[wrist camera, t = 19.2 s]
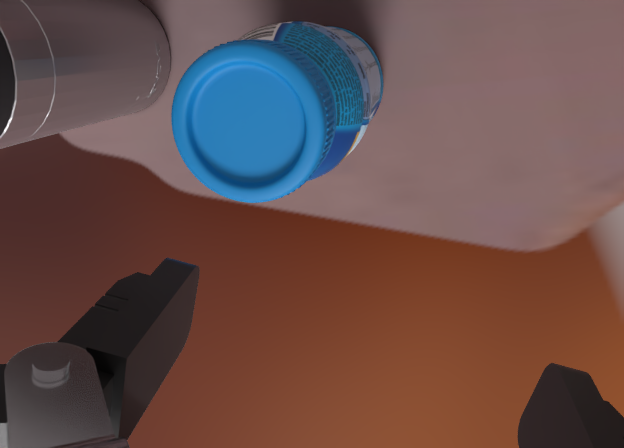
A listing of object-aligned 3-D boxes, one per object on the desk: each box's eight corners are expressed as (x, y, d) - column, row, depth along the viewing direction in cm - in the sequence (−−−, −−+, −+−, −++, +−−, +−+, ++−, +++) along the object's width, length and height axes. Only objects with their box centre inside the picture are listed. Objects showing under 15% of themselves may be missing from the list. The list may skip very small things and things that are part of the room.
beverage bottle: (402, 44, 39) (376, 55, 20) (364, 155, 42) (312, 252, 23) (291, 9, 40) (168, -12, 21) (262, 120, 43) (133, 187, 24)
